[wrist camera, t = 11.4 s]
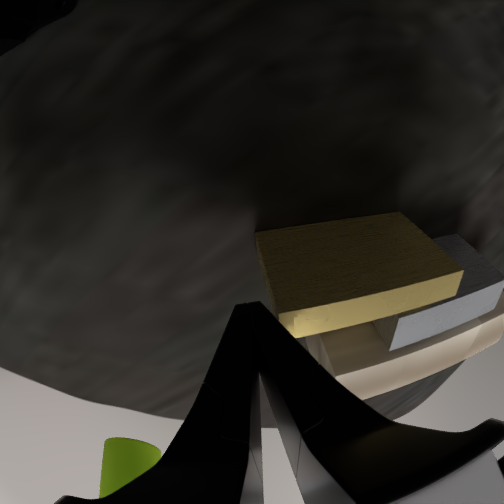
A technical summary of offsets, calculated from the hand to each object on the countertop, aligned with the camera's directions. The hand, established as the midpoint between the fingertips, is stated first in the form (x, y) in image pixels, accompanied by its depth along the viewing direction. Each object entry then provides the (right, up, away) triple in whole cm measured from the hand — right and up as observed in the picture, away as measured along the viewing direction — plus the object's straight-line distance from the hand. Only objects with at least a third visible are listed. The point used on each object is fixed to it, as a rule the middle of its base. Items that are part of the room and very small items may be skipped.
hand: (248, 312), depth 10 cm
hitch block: (+9, -1, +7) cm, 11 cm away
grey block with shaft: (+9, -2, +8) cm, 12 cm away
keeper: (+4, +3, +4) cm, 6 cm away
